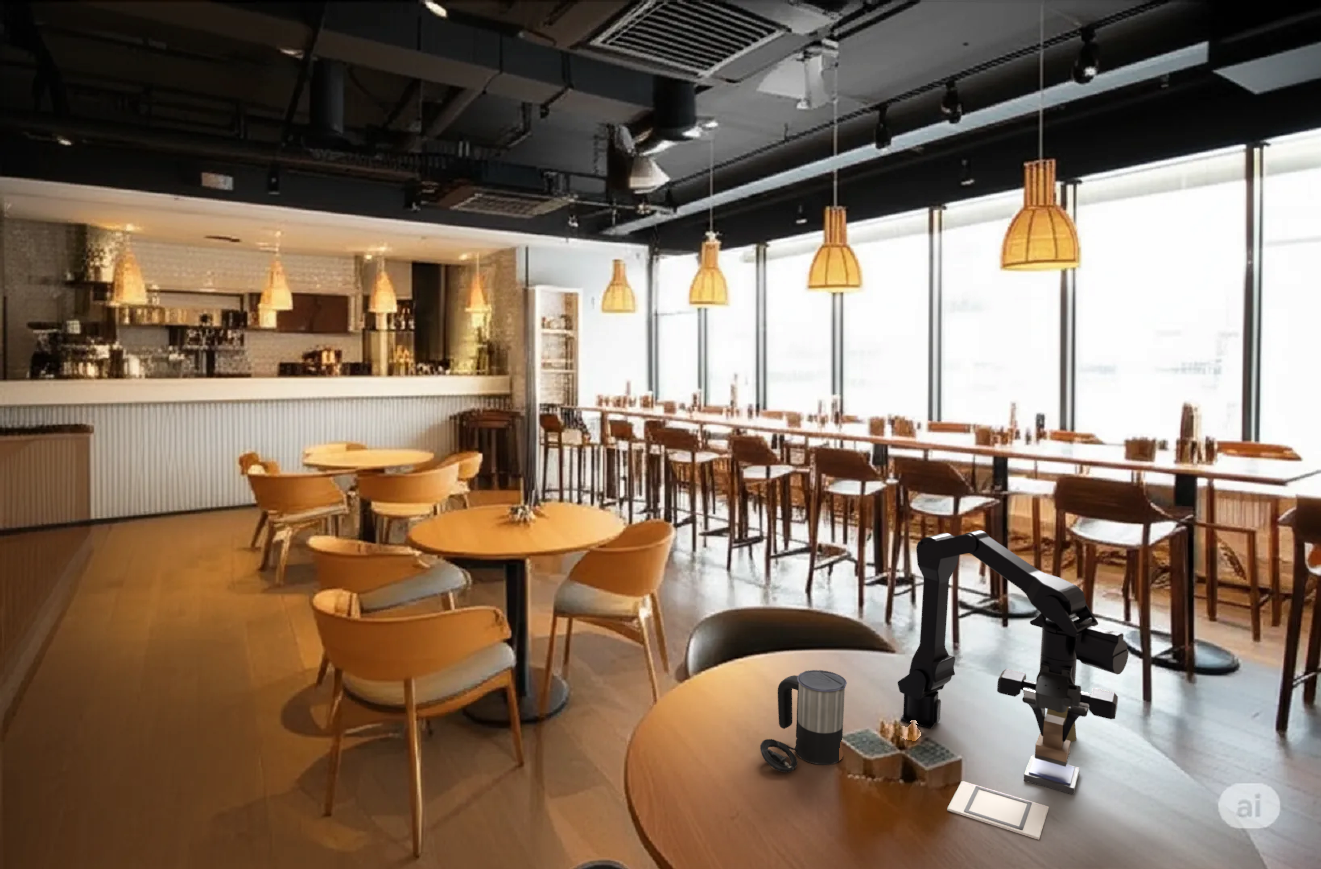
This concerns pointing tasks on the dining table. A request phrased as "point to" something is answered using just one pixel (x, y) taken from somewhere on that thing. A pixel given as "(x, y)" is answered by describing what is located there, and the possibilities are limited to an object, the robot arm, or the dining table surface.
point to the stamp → (1053, 742)
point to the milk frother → (810, 719)
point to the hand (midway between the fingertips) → (1053, 738)
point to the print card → (999, 809)
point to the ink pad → (1052, 775)
